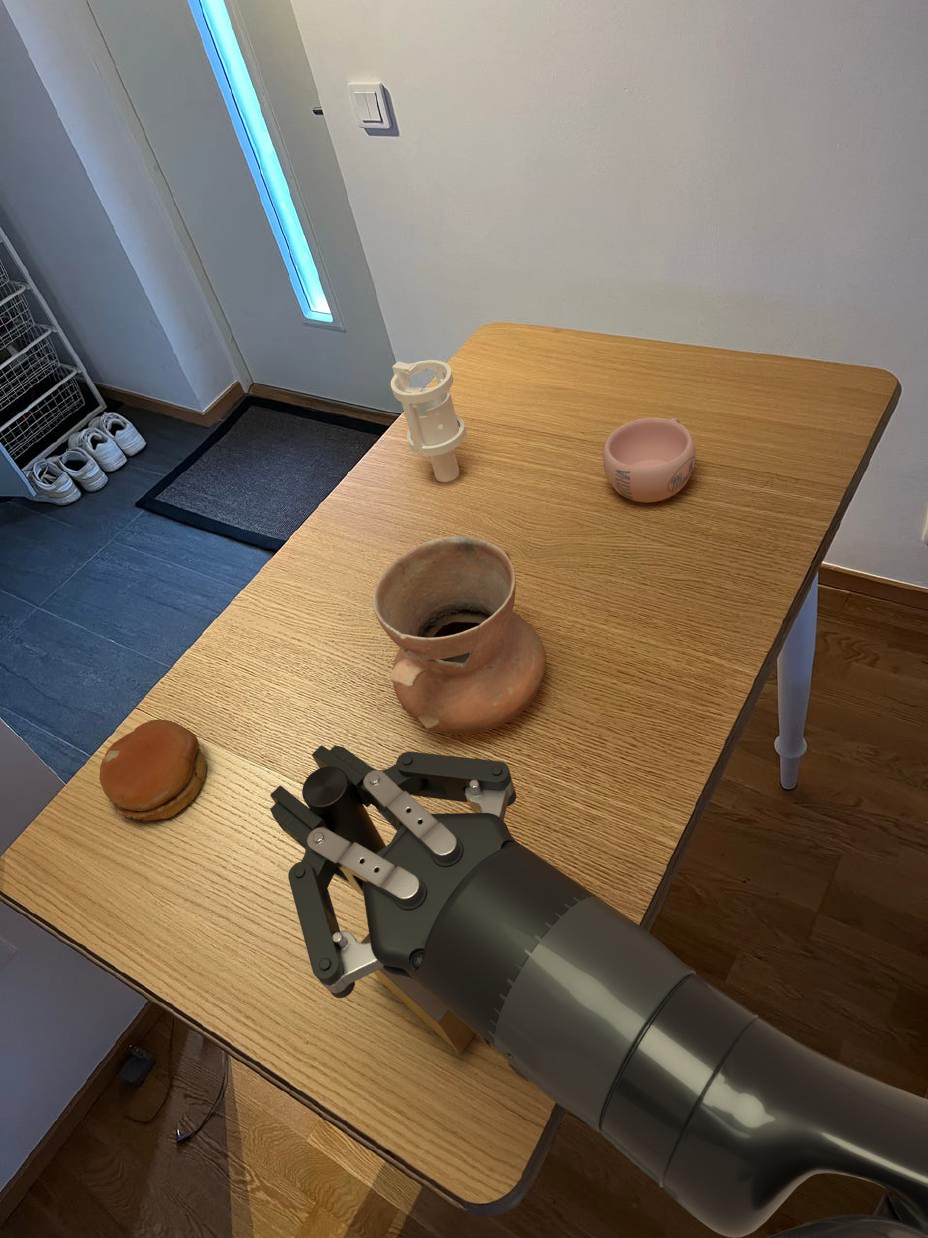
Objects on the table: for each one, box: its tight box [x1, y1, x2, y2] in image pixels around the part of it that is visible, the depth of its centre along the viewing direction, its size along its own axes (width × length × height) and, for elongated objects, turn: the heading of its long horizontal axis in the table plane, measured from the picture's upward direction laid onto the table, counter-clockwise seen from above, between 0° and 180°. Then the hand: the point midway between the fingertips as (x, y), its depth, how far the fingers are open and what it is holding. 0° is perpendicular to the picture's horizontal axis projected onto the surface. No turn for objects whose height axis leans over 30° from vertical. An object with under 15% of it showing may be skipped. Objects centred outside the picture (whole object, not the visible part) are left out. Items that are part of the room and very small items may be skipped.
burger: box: [99, 718, 208, 822], centre depth 79 cm, size 10×9×5 cm
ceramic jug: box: [372, 535, 547, 736], centre depth 75 cm, size 18×14×14 cm
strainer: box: [390, 359, 467, 483], centre depth 98 cm, size 7×7×15 cm
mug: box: [602, 417, 697, 503], centre depth 93 cm, size 12×10×6 cm
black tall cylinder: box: [301, 766, 387, 854], centre depth 48 cm, size 2×3×17 cm
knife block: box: [360, 933, 477, 1055], centre depth 59 cm, size 6×8×7 cm
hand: (301, 779), depth 45 cm, fingers closed on black tall cylinder, 2 cm apart
